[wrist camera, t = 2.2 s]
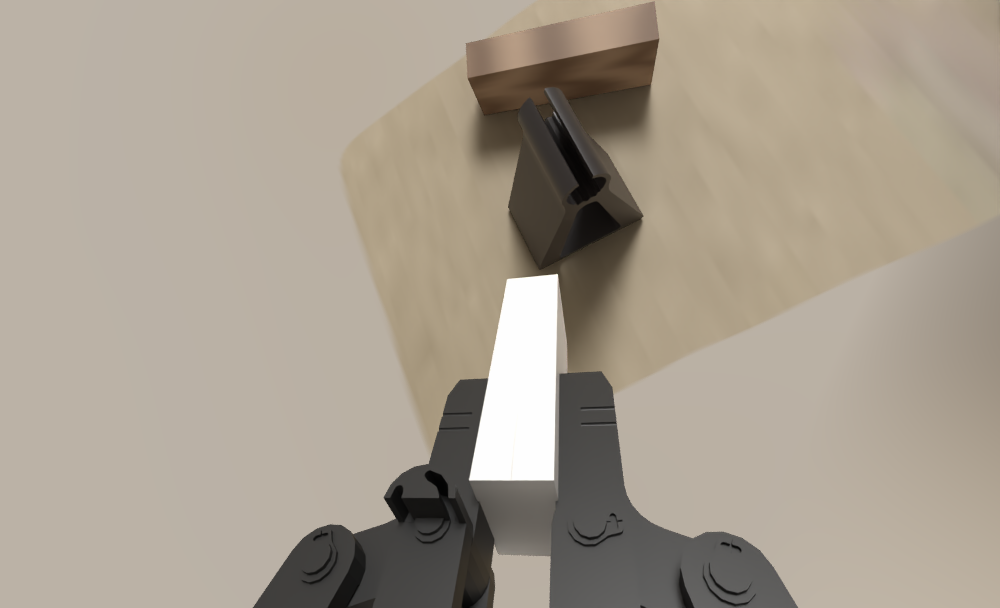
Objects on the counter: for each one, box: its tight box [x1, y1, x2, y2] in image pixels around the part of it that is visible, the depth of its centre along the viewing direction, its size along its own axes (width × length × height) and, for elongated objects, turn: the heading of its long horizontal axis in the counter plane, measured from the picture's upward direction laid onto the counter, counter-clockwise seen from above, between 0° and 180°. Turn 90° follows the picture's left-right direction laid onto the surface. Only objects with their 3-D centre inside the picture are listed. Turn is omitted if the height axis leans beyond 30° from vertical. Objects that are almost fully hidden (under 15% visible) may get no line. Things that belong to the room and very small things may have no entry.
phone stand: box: [508, 87, 643, 269], centre depth 29 cm, size 9×6×12 cm, turn 115°
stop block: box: [466, 1, 659, 115], centre depth 34 cm, size 14×3×5 cm, turn 93°
